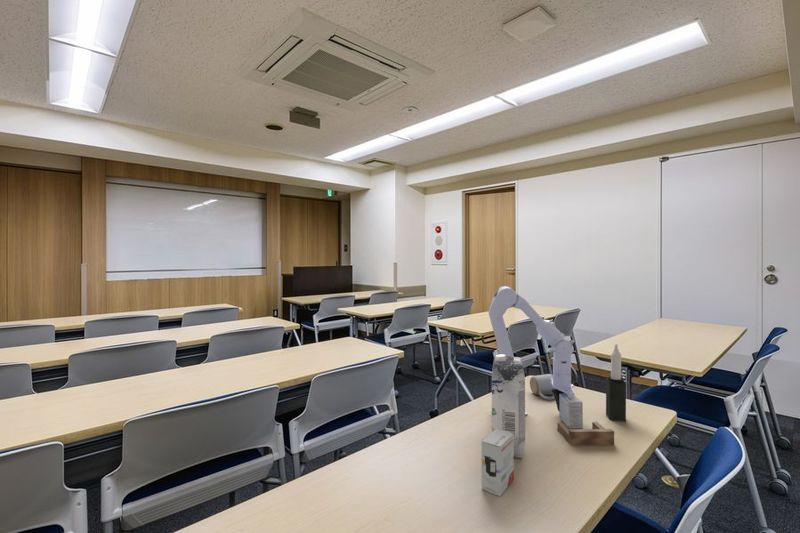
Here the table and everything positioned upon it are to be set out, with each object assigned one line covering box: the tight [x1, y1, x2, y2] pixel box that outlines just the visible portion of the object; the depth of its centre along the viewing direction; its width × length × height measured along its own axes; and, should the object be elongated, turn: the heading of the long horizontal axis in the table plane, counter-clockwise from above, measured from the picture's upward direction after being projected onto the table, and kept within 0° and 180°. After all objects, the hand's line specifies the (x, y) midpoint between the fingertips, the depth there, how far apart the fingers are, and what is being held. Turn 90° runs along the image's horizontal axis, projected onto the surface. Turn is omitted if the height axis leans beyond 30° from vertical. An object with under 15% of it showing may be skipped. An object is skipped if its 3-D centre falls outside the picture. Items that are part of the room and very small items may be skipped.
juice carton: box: [491, 353, 526, 459], centre depth 106 cm, size 9×10×27 cm
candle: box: [605, 343, 627, 422], centre depth 125 cm, size 5×5×25 cm
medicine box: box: [558, 393, 584, 429], centre depth 122 cm, size 8×4×9 cm, turn 179°
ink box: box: [481, 429, 515, 497], centre depth 90 cm, size 9×5×12 cm, turn 141°
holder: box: [556, 421, 615, 446], centre depth 113 cm, size 12×10×4 cm
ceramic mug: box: [529, 373, 555, 401], centre depth 146 cm, size 11×8×8 cm
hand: (561, 411), depth 129 cm, fingers closed
